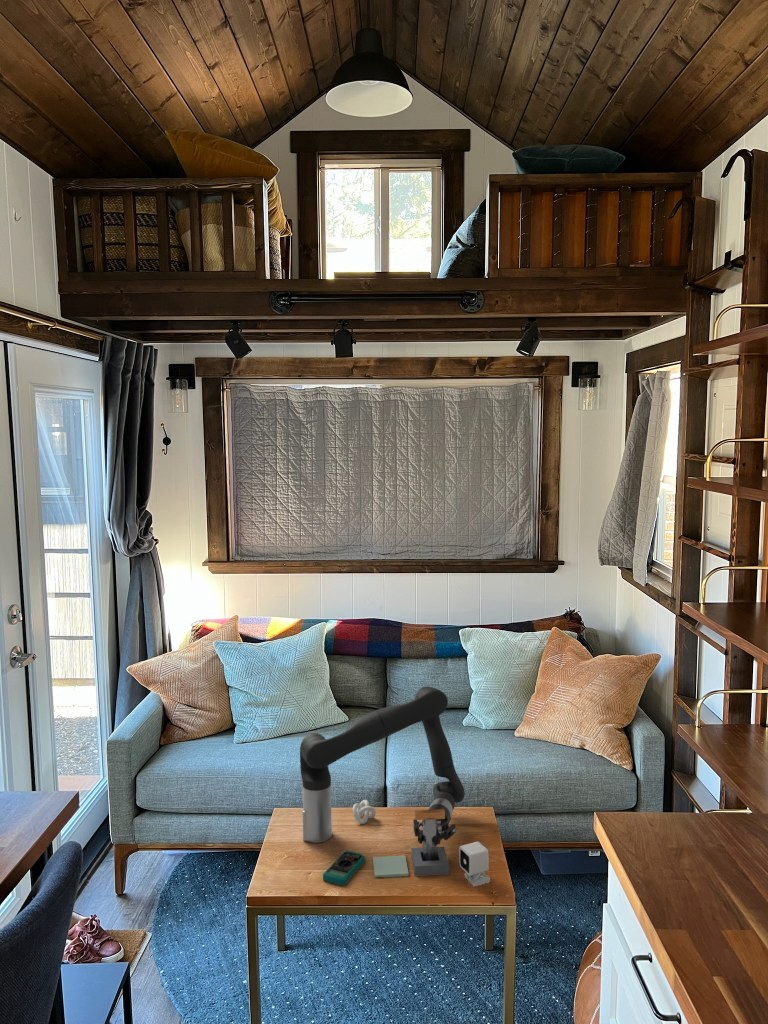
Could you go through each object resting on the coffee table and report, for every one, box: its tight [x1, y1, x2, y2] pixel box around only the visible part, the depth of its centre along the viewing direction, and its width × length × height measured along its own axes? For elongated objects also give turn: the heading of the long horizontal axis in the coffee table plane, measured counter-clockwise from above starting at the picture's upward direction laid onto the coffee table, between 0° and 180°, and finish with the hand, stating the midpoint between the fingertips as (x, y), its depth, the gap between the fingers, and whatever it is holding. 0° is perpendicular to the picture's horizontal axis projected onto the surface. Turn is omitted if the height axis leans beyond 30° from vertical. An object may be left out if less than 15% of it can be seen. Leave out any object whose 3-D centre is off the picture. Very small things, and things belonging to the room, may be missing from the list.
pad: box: [372, 855, 410, 879], centre depth 225 cm, size 10×10×1 cm
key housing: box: [410, 846, 450, 877], centre depth 226 cm, size 10×10×3 cm
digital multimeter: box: [322, 850, 366, 887], centre depth 224 cm, size 7×15×3 cm, turn 156°
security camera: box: [458, 841, 491, 888], centre depth 218 cm, size 6×7×10 cm
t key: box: [413, 809, 445, 861], centre depth 225 cm, size 9×4×17 cm, turn 95°
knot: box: [352, 799, 377, 825], centre depth 254 cm, size 8×8×6 cm
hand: (427, 841), depth 223 cm, fingers closed on t key, 4 cm apart
